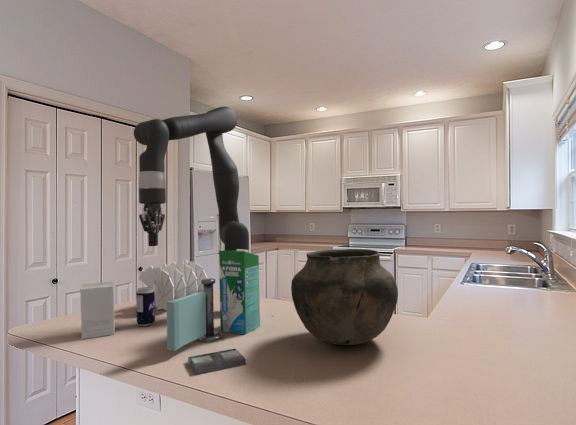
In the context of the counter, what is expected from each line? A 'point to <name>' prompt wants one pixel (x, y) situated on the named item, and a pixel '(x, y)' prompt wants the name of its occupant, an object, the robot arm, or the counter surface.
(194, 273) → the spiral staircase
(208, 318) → the post
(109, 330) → the supplement box
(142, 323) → the beverage can
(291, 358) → the counter surface
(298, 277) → the pot
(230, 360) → the tray
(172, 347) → the swing panel
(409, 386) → the counter surface
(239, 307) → the milk carton
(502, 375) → the counter surface
